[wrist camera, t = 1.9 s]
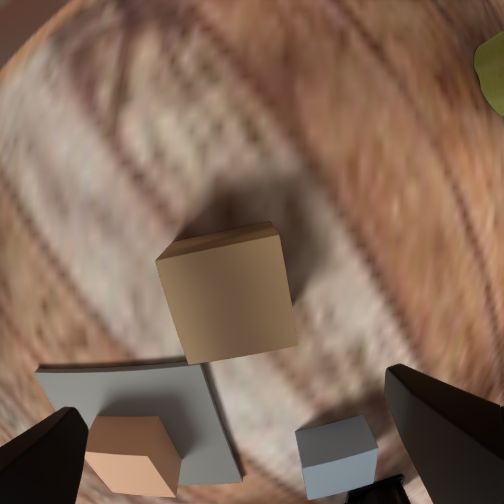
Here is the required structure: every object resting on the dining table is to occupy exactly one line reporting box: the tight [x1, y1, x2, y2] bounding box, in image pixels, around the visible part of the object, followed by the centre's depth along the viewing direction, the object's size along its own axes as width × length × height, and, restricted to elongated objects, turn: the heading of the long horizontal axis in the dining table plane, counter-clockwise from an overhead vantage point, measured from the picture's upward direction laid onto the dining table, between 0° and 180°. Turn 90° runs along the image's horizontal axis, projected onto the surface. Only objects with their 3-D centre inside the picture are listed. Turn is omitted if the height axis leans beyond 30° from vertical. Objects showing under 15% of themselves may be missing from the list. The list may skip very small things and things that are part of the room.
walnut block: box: [155, 221, 298, 365], centre depth 16 cm, size 6×6×4 cm
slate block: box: [295, 415, 379, 500], centre depth 20 cm, size 6×6×4 cm
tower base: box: [34, 361, 243, 497], centre depth 18 cm, size 14×14×5 cm
